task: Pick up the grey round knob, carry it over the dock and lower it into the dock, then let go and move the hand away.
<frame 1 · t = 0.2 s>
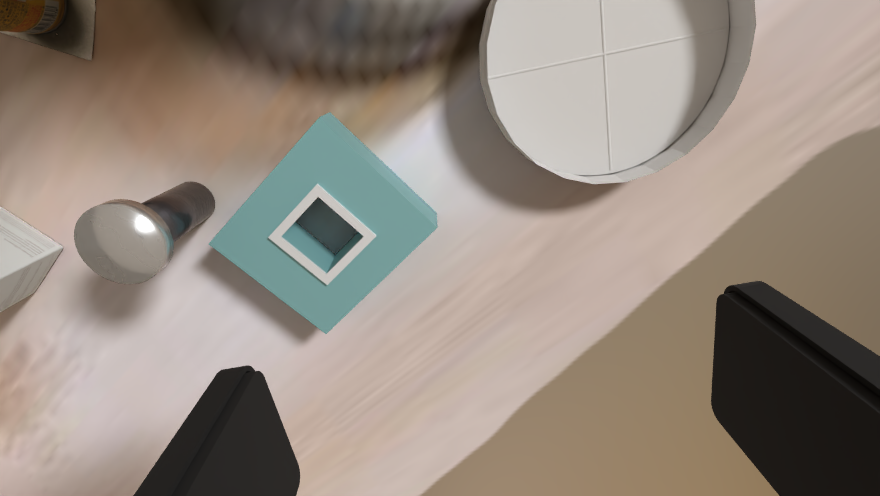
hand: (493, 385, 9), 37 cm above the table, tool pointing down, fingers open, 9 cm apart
dock: (332, 220, 47), on the table
condiment: (44, 0, 39), on the table
dish: (597, 54, 42), on the table
supplement box: (17, 248, 47), on the table
grey round knob: (194, 201, 46), on the table
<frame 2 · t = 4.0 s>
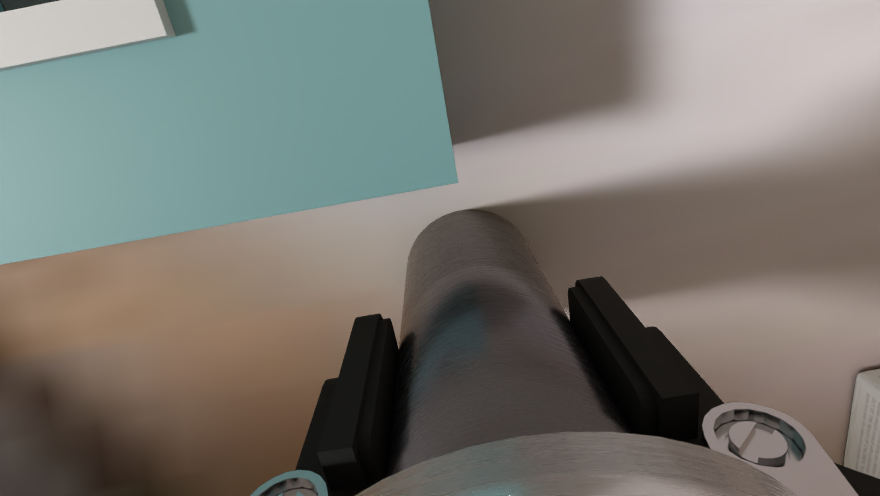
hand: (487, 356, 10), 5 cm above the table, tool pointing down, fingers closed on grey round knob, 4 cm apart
grey round knob: (469, 269, 15), on the table, touching gripper
when the fingers open (6 cm above the table, at t = 9.2 s): grey round knob stays where it is, resting in dock.
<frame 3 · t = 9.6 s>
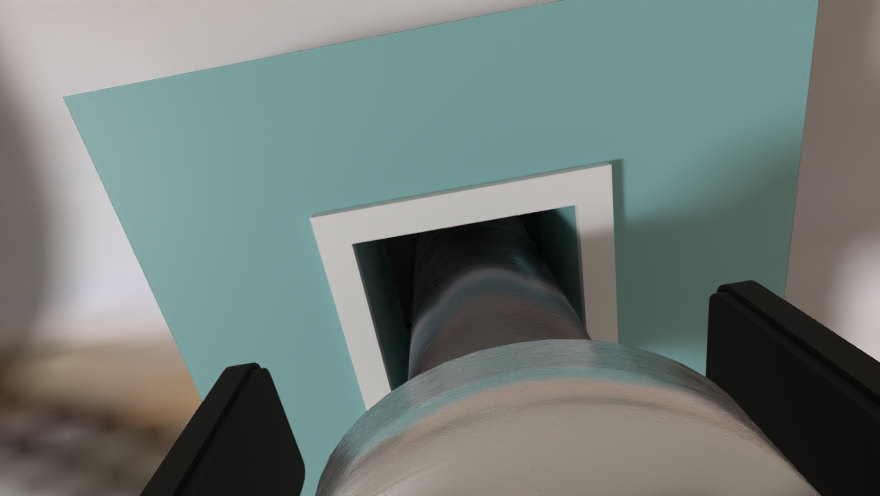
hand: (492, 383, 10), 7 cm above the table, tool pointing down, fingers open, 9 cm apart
dock: (465, 252, 16), on the table
grey round knob: (472, 252, 16), resting in dock
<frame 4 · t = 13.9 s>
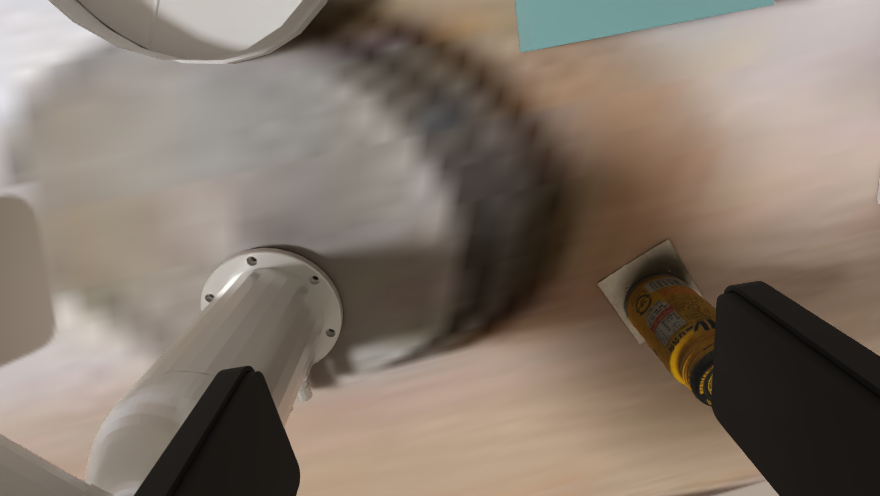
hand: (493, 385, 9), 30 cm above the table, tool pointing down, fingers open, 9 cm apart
condiment: (651, 292, 43), on the table
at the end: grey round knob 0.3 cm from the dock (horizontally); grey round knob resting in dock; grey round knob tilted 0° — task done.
